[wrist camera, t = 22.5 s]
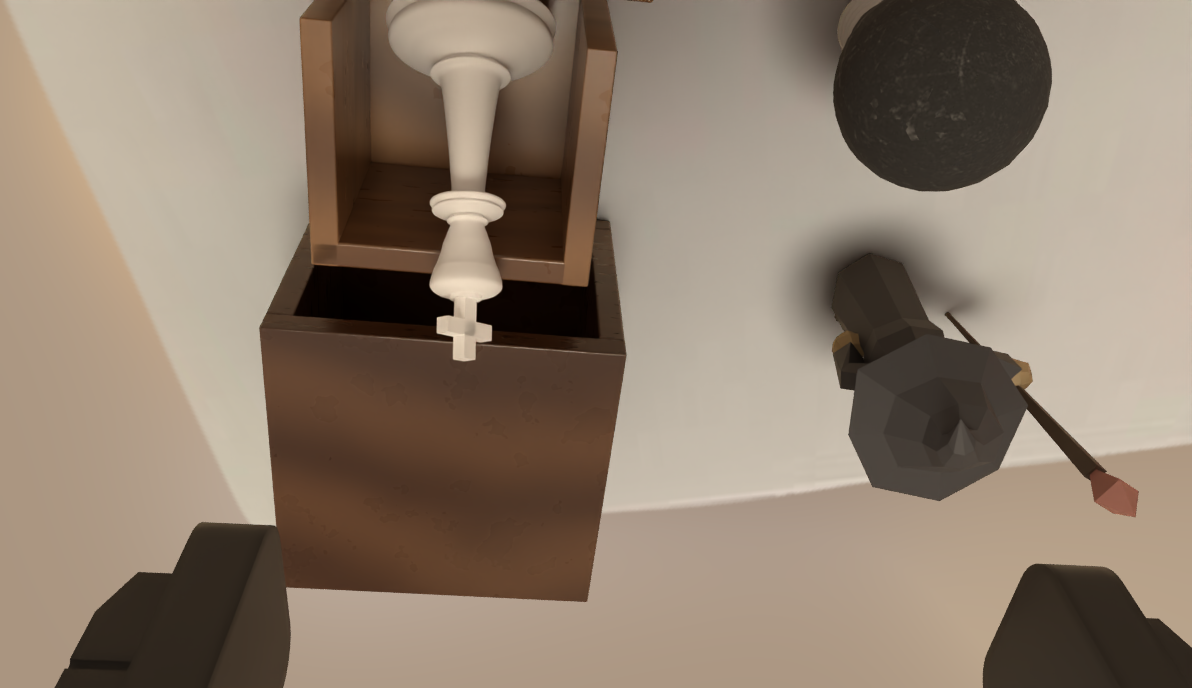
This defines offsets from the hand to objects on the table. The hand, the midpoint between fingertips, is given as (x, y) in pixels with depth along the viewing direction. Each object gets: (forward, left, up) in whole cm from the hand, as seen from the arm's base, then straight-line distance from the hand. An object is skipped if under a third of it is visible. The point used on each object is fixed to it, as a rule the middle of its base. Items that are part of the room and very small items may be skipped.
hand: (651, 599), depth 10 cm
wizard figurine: (-14, +9, -26) cm, 31 cm away
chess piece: (+3, 0, -22) cm, 22 cm away
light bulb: (-10, -1, -26) cm, 27 cm away
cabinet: (+3, +13, -26) cm, 29 cm away
